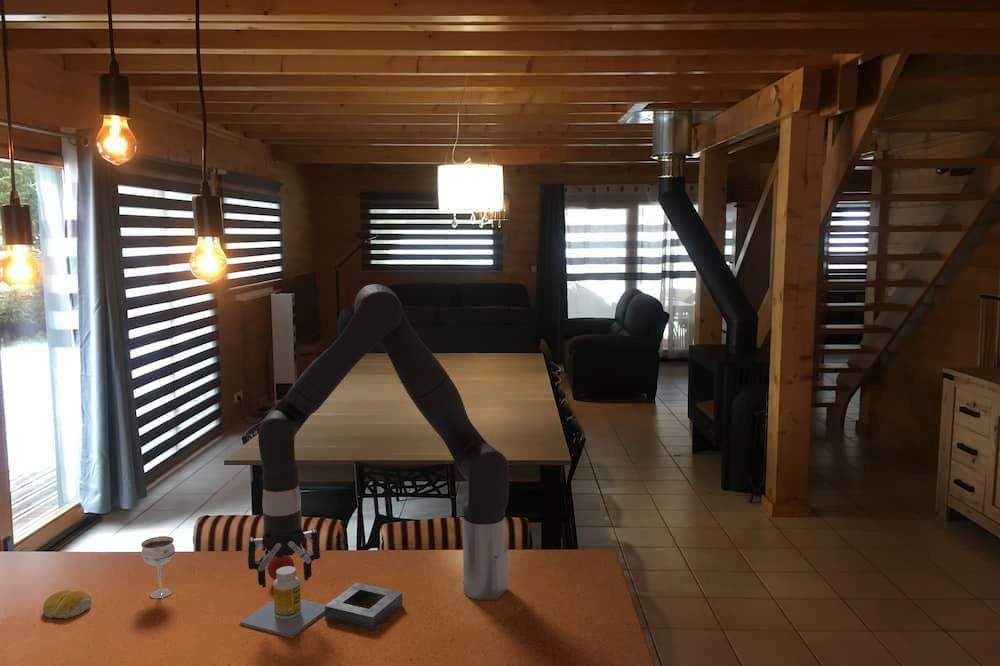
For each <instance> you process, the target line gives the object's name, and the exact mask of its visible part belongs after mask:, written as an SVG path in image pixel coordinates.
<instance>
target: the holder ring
mask: <svg viewBox="0 0 1000 666" xmlns="http://www.w3.org/2000/svg"><path fill="white" fill-rule="evenodd" d="M360 602H361V603H360ZM364 603H365V604H364ZM359 604H364V605H370V606H371V607H370V608H366V607H360V606H358V605H359ZM324 605H325V613H324V614H325V615H324V616H325V617H324V618H325V619H324V620H325V621H329V622H335V623H337V624H342V625H346V626H348V627H349V626H350V627H353V626H354V627H355V628H358V629H362V630H366V629H367V630H366V631H370V630H371V631H370V632H374V631H375V630H376V629H377V628H378V627H379V626H381V625H382V624H383V623H384V622H385V621H387V620H388V619H389V618H391V616H392V615H394V614H395V613H396V612H397V611H398V610H399V609H400V608H402V607H403V592H401V591H397V590H393V589H388V588H383V587H381V586H380V587H379V586H374V585H371V584H370V585H369V584H366V583H365V584H364V583H361V582H355V583H354V584H353V585H351V586H350V587H349V588H347V589H346V590H345V591H343V592H341V593H340V594H339V595H338V596H336V597H335V598H334V599H332V600H331V601H330V602H328V603H327V604H324ZM394 612H395V613H394ZM387 618H388V619H387ZM386 619H387V620H386Z"/></svg>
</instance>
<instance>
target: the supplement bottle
mask: <svg viewBox="0 0 1000 666" xmlns="http://www.w3.org/2000/svg"><path fill="white" fill-rule="evenodd" d="M276 578H277V579H276V580H273V583H272V584H273V585H272V588H273V590H272V591H273V600H274V613H275V616H276V617H277V618H280V619H290V618H294V617H296V616H297V615H299V613H300V612H301V601H300V599H301V582H300V579H299V577H297V568H296V567H295V566H294V567H292V566H285V567H281V568H279V569H277V571H276Z"/></svg>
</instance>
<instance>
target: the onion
mask: <svg viewBox="0 0 1000 666" xmlns="http://www.w3.org/2000/svg"><path fill="white" fill-rule="evenodd" d="M285 566H292V567H295V563H294V561H293V558H292V557H291V555H290V556H286V555H284V556H282V557H276V556H274V557H273V558H272V560H271V561H270V562H269V563H268V564H267V572H268V575H269V577H270V578H271V579H272V580H273V581H275V580H276V579H277V578H276V571H277V569H279V568H281V567H285Z"/></svg>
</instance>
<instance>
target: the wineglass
mask: <svg viewBox="0 0 1000 666" xmlns="http://www.w3.org/2000/svg"><path fill="white" fill-rule="evenodd" d="M174 541H175V539H174V537H171V536H166V535H162V536H161V535H160V536H155V537H150V538H148V539H145V540H143V541H142V542H141V544H140V546H141V548H142V549H141V558H142V559H143V560H142V561H144V562H145V563H147V565H149V566H151V567H152V566H155V567H154V568H157V577H158V585H159V589H156V591H155V590H154V592H153V591H151V592H152V593H151V592H150V593H151V594H150V593H149V594H150V596H151V597H152V598H162V599H164V598H163V597H165V596H167V595H169V594H171V590H172V589H171V590H169V589H170V588H162V567H163V565H165V564H168V563H169V561H171V559H172V558H173V557H174V555H175V550H176V548H175V545H174ZM171 595H172V594H171Z"/></svg>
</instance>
